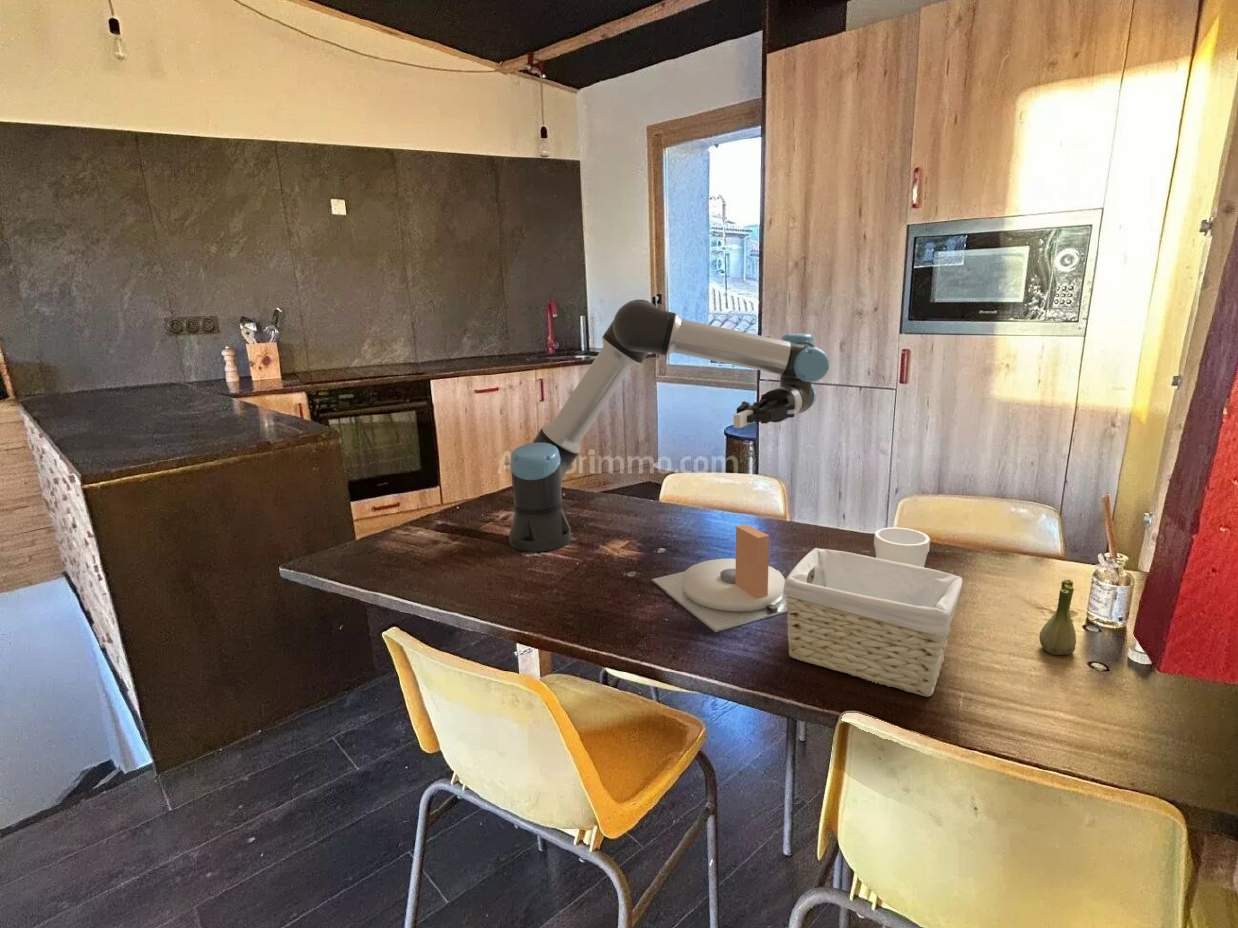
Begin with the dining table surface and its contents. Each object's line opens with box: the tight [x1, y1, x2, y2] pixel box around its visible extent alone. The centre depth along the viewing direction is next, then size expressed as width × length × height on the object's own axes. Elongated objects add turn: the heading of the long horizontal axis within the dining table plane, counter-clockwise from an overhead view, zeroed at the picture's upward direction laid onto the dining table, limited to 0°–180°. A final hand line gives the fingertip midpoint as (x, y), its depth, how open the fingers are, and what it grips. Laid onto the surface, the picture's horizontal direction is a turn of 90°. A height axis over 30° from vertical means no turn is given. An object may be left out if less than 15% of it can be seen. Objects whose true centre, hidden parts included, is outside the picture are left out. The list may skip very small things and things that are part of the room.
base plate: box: [651, 571, 788, 633], centre depth 131 cm, size 24×24×1 cm
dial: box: [683, 523, 786, 611], centre depth 129 cm, size 20×20×14 cm
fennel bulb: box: [1039, 578, 1077, 656], centre depth 105 cm, size 6×5×12 cm
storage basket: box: [783, 547, 963, 697], centre depth 104 cm, size 24×16×15 cm
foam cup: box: [873, 526, 931, 568], centre depth 123 cm, size 10×9×13 cm
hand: (736, 421), depth 136 cm, fingers closed
